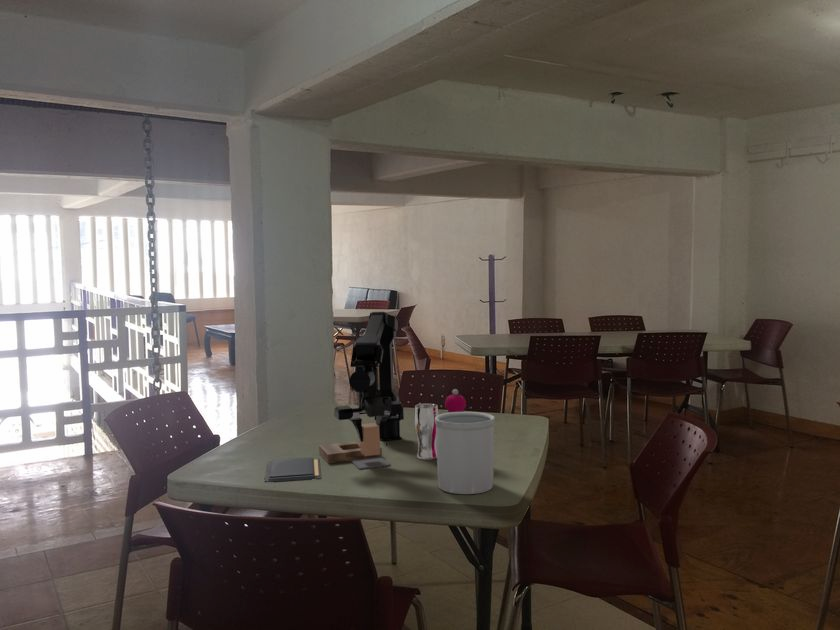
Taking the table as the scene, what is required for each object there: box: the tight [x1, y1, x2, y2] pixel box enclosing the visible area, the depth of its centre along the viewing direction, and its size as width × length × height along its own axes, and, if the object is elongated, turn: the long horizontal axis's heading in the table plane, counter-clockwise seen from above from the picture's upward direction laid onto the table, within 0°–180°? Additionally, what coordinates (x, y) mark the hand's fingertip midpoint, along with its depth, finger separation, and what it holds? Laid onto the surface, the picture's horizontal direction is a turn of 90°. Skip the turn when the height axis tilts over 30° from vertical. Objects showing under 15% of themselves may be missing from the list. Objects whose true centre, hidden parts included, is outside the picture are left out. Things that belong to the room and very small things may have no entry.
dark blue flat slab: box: [264, 457, 322, 483], centre depth 191 cm, size 20×2×15 cm
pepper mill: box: [444, 388, 467, 413], centre depth 198 cm, size 7×7×20 cm
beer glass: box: [413, 403, 439, 461], centre depth 201 cm, size 7×7×15 cm
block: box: [359, 422, 381, 456], centre depth 195 cm, size 4×4×8 cm
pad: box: [350, 456, 391, 470], centre depth 196 cm, size 9×9×1 cm
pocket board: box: [318, 440, 383, 464], centre depth 204 cm, size 16×11×3 cm
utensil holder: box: [435, 411, 496, 495], centre depth 173 cm, size 15×15×18 cm
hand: (369, 440), depth 195 cm, fingers closed on block, 4 cm apart
